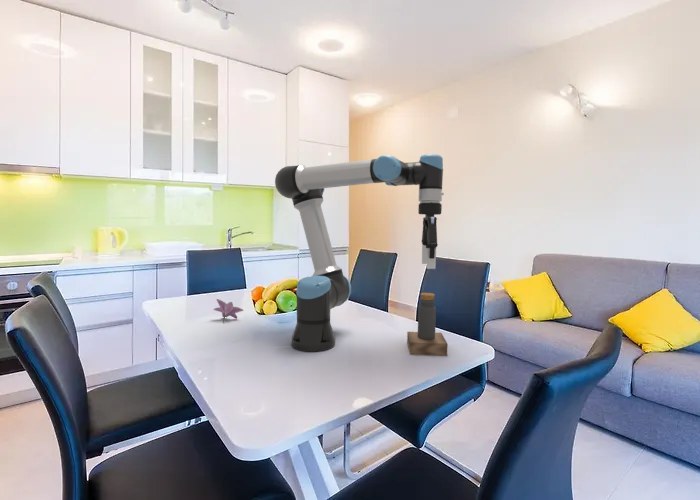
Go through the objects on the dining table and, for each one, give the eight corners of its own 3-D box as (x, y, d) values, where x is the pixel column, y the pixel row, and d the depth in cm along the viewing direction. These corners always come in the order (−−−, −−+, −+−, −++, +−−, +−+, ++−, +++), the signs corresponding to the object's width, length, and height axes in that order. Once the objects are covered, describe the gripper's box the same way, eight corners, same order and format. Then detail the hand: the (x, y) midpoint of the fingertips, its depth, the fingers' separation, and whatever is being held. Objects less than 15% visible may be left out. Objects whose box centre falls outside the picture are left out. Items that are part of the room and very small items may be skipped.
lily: (246, 324, 159) (248, 302, 163) (223, 318, 150) (226, 296, 154) (227, 328, 165) (229, 307, 169) (204, 323, 156) (207, 301, 160)
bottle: (435, 340, 124) (436, 296, 123) (417, 339, 125) (418, 295, 124) (434, 335, 130) (436, 292, 128) (417, 334, 131) (419, 291, 130)
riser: (409, 354, 122) (410, 342, 122) (407, 342, 134) (407, 331, 134) (447, 355, 121) (447, 343, 121) (441, 343, 133) (441, 332, 133)
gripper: (448, 200, 111) (446, 271, 113) (435, 204, 136) (434, 262, 138) (423, 200, 112) (421, 270, 113) (415, 204, 137) (413, 261, 138)
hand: (428, 266), depth 126 cm, fingers open, 13 cm apart
